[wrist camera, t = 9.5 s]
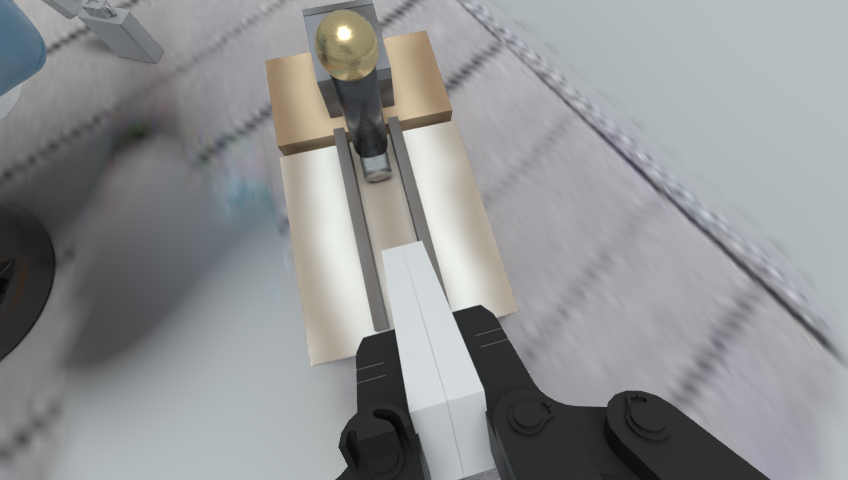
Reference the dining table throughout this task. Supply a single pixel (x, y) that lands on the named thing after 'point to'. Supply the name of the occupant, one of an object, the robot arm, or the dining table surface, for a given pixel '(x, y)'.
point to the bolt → (356, 85)
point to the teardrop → (9, 100)
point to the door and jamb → (377, 193)
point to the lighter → (112, 27)
